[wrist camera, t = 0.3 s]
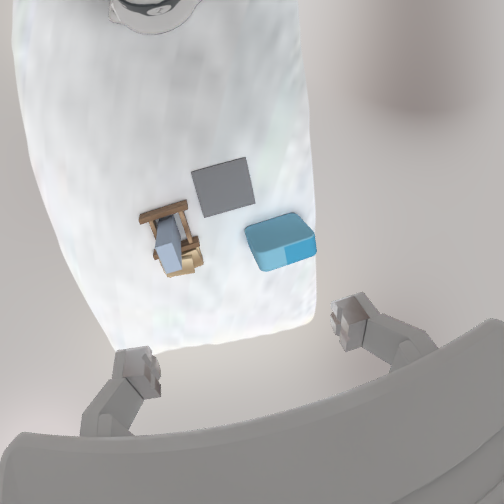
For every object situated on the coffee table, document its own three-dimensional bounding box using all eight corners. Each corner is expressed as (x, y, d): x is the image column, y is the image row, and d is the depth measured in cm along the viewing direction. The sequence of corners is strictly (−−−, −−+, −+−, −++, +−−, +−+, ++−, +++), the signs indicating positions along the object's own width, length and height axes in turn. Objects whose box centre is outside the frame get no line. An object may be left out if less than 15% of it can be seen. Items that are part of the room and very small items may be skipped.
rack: (140, 214, 56) (138, 220, 53) (186, 199, 57) (186, 204, 54) (155, 253, 61) (154, 260, 58) (198, 239, 62) (199, 246, 59)
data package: (248, 244, 65) (262, 274, 55) (243, 227, 63) (256, 254, 53) (297, 228, 66) (319, 254, 56) (294, 211, 64) (317, 234, 54)
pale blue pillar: (159, 217, 57) (155, 247, 46) (172, 213, 58) (171, 242, 47) (167, 240, 60) (166, 274, 49) (180, 236, 61) (182, 269, 50)
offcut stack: (158, 254, 61) (157, 264, 57) (197, 242, 62) (198, 252, 58) (165, 271, 64) (165, 283, 60) (203, 260, 65) (205, 271, 61)
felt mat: (191, 172, 54) (191, 172, 54) (245, 157, 55) (245, 157, 55) (204, 216, 60) (204, 218, 59) (254, 202, 61) (255, 203, 60)
